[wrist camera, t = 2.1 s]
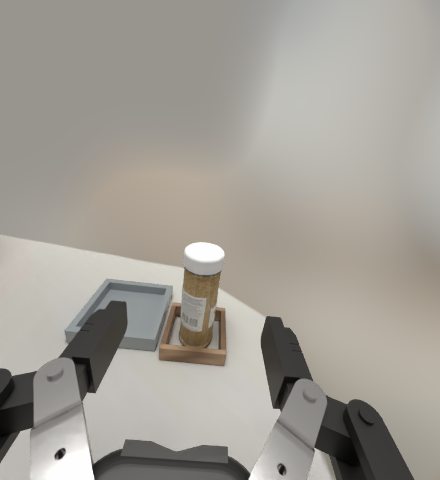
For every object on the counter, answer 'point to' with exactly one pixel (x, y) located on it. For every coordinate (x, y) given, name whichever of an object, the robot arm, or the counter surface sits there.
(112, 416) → the counter surface
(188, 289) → the sprinkles bottle
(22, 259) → the counter surface
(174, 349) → the wooden picture frame
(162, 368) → the counter surface
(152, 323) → the slate tray
